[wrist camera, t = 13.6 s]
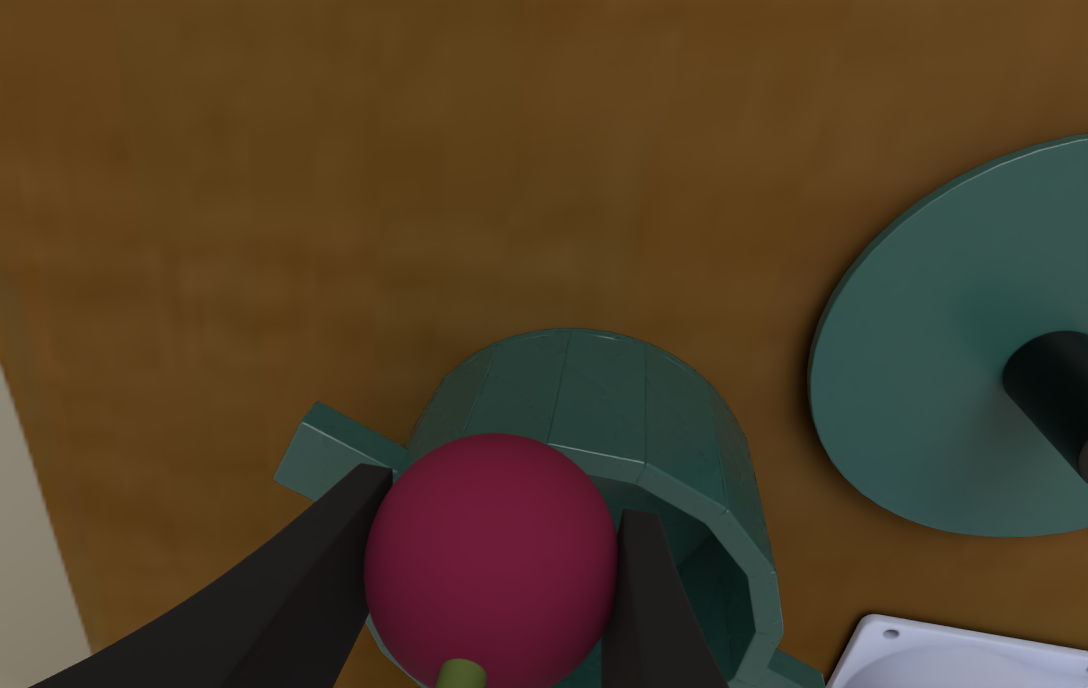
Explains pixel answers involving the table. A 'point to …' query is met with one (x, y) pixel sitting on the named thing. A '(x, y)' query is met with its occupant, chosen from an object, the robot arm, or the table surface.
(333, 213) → the table surface
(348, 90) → the table surface
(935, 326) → the lid
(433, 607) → the beet
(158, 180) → the table surface
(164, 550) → the table surface
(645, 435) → the pot
